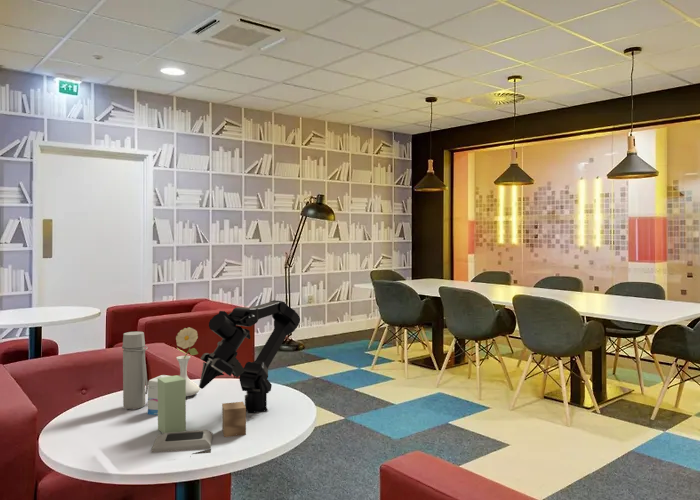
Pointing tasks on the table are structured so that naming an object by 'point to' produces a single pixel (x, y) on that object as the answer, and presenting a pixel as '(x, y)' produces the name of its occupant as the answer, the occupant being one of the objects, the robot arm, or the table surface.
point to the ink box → (153, 395)
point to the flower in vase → (187, 357)
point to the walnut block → (233, 419)
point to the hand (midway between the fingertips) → (200, 388)
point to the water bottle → (134, 370)
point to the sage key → (171, 404)
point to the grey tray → (183, 441)
